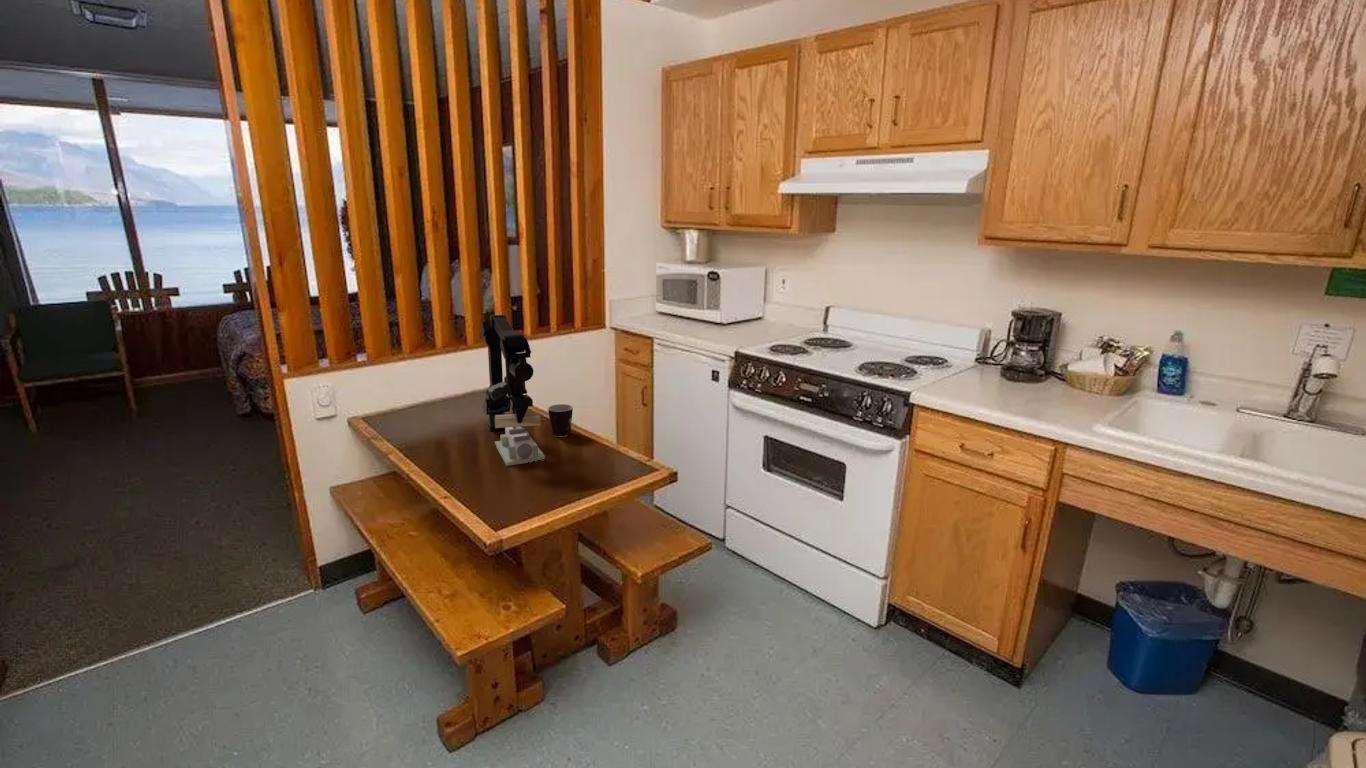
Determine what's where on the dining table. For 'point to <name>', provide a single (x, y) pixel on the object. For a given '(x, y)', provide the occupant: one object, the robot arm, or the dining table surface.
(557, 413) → the coffee mug
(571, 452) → the dining table surface
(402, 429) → the dining table surface
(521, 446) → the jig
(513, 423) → the tan rectangular block
